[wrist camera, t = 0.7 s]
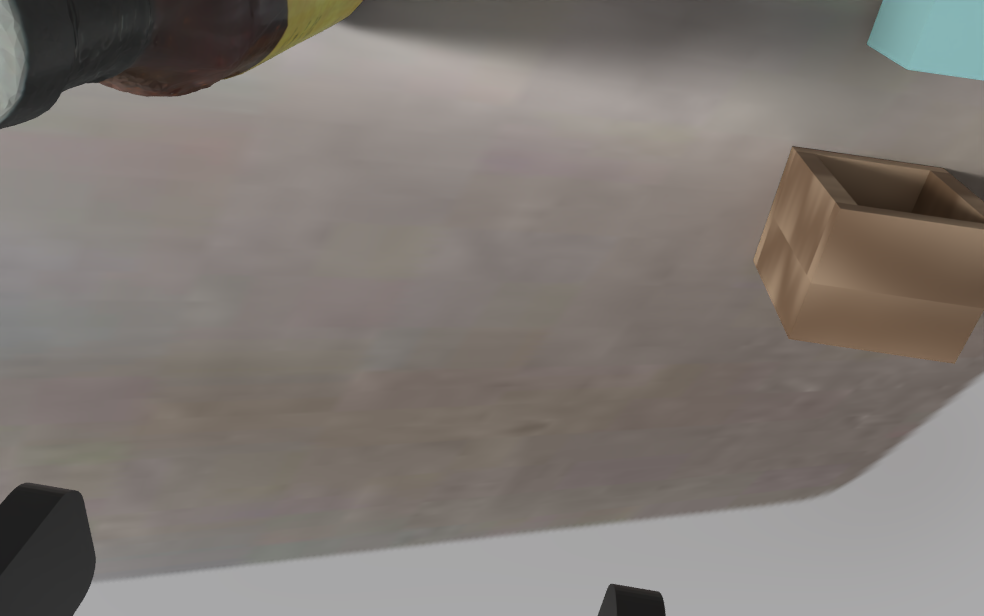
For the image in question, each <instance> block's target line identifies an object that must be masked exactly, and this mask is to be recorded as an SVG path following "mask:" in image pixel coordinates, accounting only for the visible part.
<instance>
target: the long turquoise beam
mask: <svg viewBox="0 0 984 616" xmlns="http://www.w3.org/2000/svg"><path fill="white" fill-rule="evenodd" d="M867 45H868V46H870V47H872V48H873V49H875V50H876V51H878V52H880V53H881V54H883V55H884V56H886V57H888V58H889V59H891V60H892V61H894V62H896V63H897V64H899V65H900V66H902V67H904V68H905V69H907V70H914V71H921V72H928V73H935V74H942V75H949V76H956V77H963V78H970V79H977V80H984V0H883V2H882V4H881V7H880V10H879V12H878V15H877V18H876V21H875V23H874V26H873V29H872V31H871V34H870V37H869V39H868V42H867Z"/></svg>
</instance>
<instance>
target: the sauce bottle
mask: <svg viewBox="0 0 984 616" xmlns="http://www.w3.org/2000/svg"><path fill="white" fill-rule="evenodd" d="M362 1H363V0H0V129H2V128H5V127H10V126H14V125H17V124H20V123H23V122H26V121H29V120H31V119H34V118H36V117H38V116H40V115H41V114H43V113H44V112H46V111H48V110H49V109H50V108H51V107H52V106H53V105H54V104H55V102H56V101H57V99H58V98H59V96H60V94H61V93H62V92H63V91H65V90H67V89H70V88H73V87H76V86H79V85H82V84H85V83H101V84H103V85H105V86H108V87H111V88H114V89H117V90H119V91H123V92H129V93H131V94H136V95H141V96H147V97H148V96H169V97H172V96H181V95H186V94H189V93H192V92H196V91H198V90H200V89H204V88H208V87H210V86H211V85H213V84H214V83H216V82H218V81H220V80H222V79H228V78H231V77H234V76H237V75H240V74H243V73H244V72H246V71H248V70H250V69H252V68H254V67H256V66H258V65H260V64H262V63H263V62H265V61H267V60H269V59H271V58H273V57H274V56H276V55H278V54H280V53H282V52H283V51H285V50H287V49H289V48H291V47H293V46H295V45H296V44H298V43H300V42H302V41H304V40H306V39H308V38H310V37H312V36H314V35H316V34H318V33H320V32H322V31H324V30H325V29H327V28H329V27H331V26H333V25H334V24H336V23H338V22H340V21H341V20H343V19H344V18H346V17H348V16H349V15H350V14H351V13H352V12H353V11H354V10H355V9H356V8H357V7H358V6H359V5H360V3H361V2H362Z"/></svg>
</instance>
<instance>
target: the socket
mask: <svg viewBox="0 0 984 616" xmlns="http://www.w3.org/2000/svg"><path fill="white" fill-rule="evenodd" d="M753 261H754V263H755V265H756V268H757V270H758V272H759V274H760V276H761V279H762V281H763V283H764V285H765V287H766V289H767V292H768V294H769V296H770V298H771V300H772V303H773V305H774V307H775V309H776V311H777V314H778V316H779V318H780V320H781V322H782V325H783V327H784V329H785V331H786V333H787V336H788V338H789V339H793V340H799V341H806V342H813V343H819V344H826V345H833V346H840V347H846V348H853V349H860V350H866V351H873V352H880V353H887V354H893V355H900V356H907V357H913V358H920V359H927V360H934V361H940V362H947V363H954V364H955V362H956V360H957V358H958V356H959V355H960V353H961V351H962V349H963V347H964V345H965V344H966V342H967V340H968V338H969V336H970V334H971V333H972V331H973V329H974V327H975V325H976V324H977V322H978V320H979V318H980V316H981V314H982V313H983V311H984V202H983V201H982V200H981V199H980V198H979V197H977V196H976V195H975V194H974V193H973V192H971V191H970V190H969V189H968V188H967V187H965V186H964V185H963V184H962V183H961V182H959V181H958V180H957V179H956V178H954V177H953V176H952V175H951V174H950V173H948V172H947V171H946V170H945V169H944V168H938V167H931V166H925V165H918V164H911V163H904V162H897V161H890V160H883V159H876V158H869V157H862V156H856V155H849V154H842V153H835V152H828V151H821V150H814V149H807V148H800V147H793V146H792V149H791V152H790V155H789V158H788V161H787V163H786V166H785V169H784V172H783V175H782V178H781V181H780V184H779V187H778V190H777V193H776V196H775V198H774V201H773V204H772V207H771V210H770V213H769V216H768V219H767V222H766V225H765V228H764V231H763V234H762V236H761V239H760V242H759V245H758V248H757V251H756V254H755V257H754V260H753Z"/></svg>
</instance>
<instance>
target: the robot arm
mask: <svg viewBox="0 0 984 616" xmlns="http://www.w3.org/2000/svg"><path fill="white" fill-rule="evenodd" d="M95 563H96V557H95V551H94V546H93V542H92V537H91V532H90V528H89V523H88V518H87V514H86V509H85V504H84V500H83V497H82V495H81V493H80V492H78V491H75V490H69V489H63V488H57V487H51V486H46V485H40V484H34V483H24V484H21V485H19V486H18V487H16V488H15V489H14V490H13V491H12V492H11V493H10V494H9V495H8V496H7V497H6V499H5V500H4V501H3V502H2V503H1V504H0V616H73V614H74V613H75V611H76V609H77V608H78V607H79V605H80V603H81V602H82V600H83V599H84V597H85V595H86V593H87V591H88V589H89V587H90V584H91V581H92V578H93V575H94V570H95ZM598 616H665V607H664V601H663V597H662V595H661V593H660V592H657V591H651V590H645V589H639V588H634V587H627V586H622V585H616V584H610V585H609V587H608V589H607V591H606V594H605V597H604V600H603V603H602V605H601V608H600V611H599V614H598Z"/></svg>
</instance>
